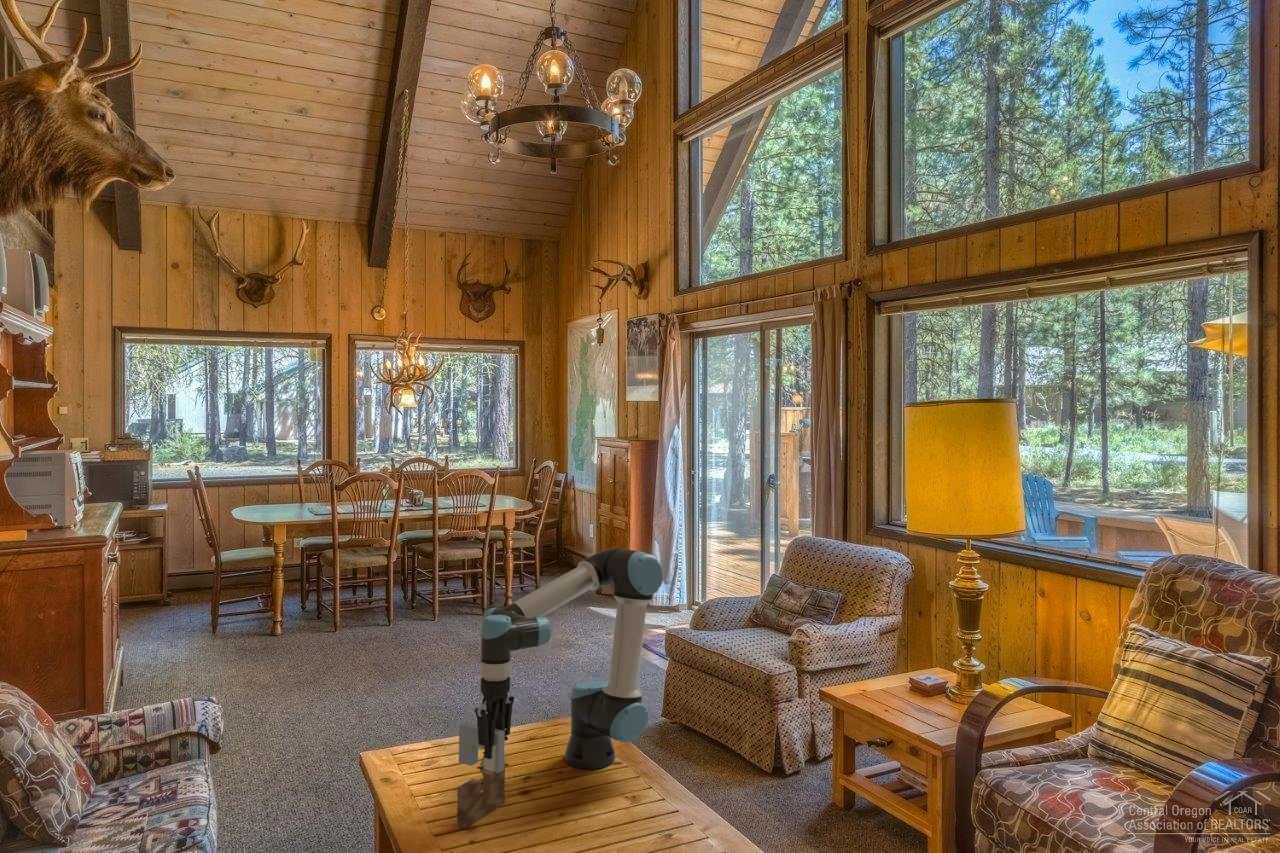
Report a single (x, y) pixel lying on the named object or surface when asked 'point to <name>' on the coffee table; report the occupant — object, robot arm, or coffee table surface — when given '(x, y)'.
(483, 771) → the game die
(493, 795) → the base plank
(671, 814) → the coffee table surface
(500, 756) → the cross plank
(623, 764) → the coffee table surface
